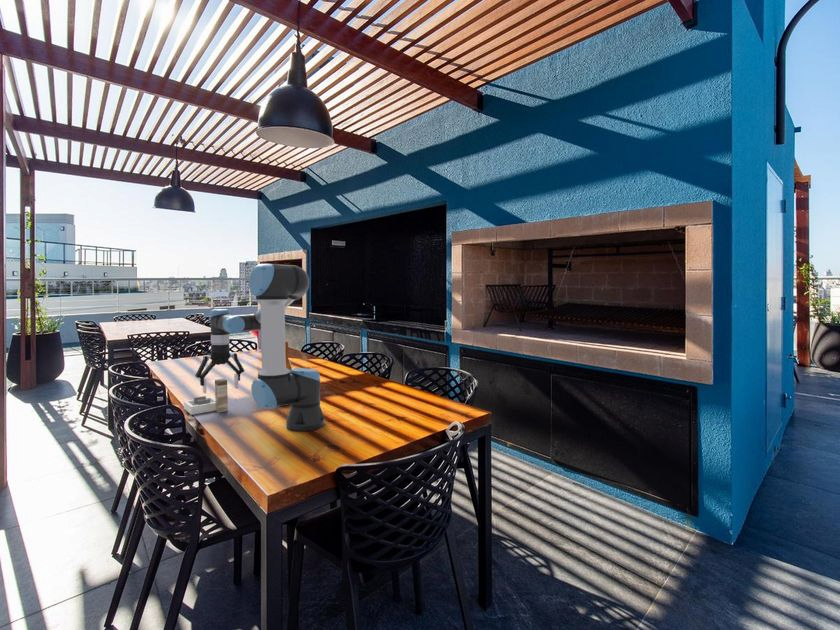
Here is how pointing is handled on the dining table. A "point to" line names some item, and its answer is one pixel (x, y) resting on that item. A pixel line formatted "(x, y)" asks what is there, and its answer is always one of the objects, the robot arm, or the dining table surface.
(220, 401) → the wood grain beam
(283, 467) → the dining table surface
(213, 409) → the white square frame
